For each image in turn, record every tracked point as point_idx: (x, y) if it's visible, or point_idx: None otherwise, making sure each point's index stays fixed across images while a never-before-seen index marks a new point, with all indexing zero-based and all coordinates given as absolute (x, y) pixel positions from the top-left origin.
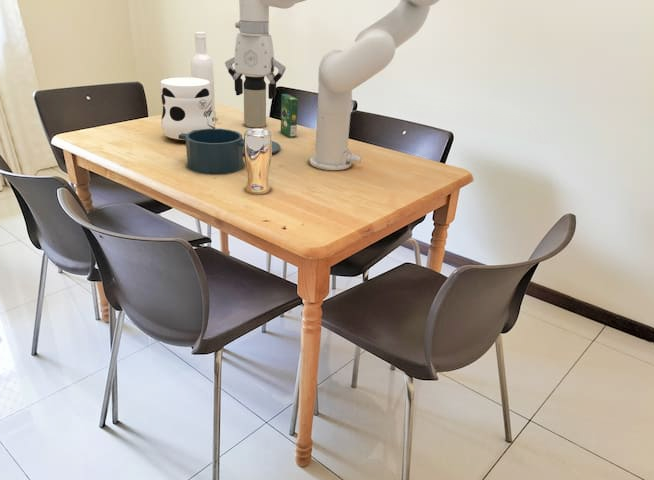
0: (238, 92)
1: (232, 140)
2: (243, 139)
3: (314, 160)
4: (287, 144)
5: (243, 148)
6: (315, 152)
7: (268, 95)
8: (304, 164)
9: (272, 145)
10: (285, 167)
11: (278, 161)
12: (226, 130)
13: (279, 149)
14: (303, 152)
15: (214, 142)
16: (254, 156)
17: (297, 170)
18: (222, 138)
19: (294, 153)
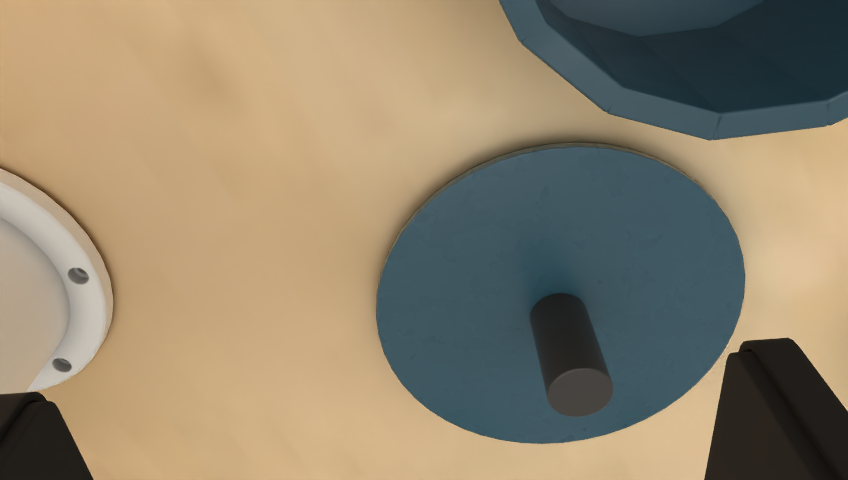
0: (754, 385)
1: (642, 70)
2: (676, 388)
3: (33, 234)
4: (408, 455)
5: (603, 234)
6: (13, 278)
7: (16, 436)
8: (99, 191)
9: (449, 370)
10: (164, 66)
11: (282, 161)
12: (744, 110)
13: (381, 340)
14: (248, 382)
15: (818, 30)
16: None
17: (52, 49)
18: (756, 74)
19: (284, 344)
